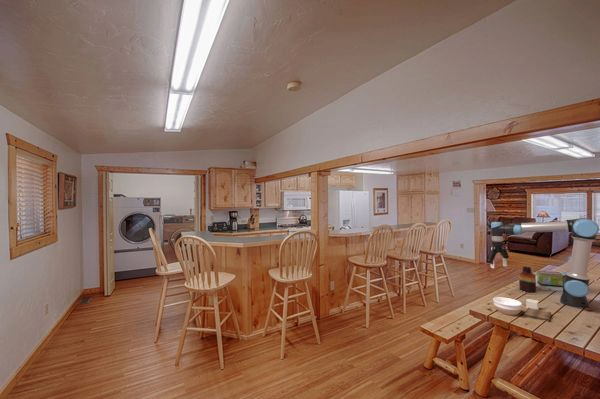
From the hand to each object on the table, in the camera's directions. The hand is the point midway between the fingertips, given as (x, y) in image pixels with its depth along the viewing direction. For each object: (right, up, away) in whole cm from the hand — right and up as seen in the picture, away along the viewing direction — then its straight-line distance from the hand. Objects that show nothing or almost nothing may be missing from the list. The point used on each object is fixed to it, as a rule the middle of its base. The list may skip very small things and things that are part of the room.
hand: (498, 267), depth 213 cm
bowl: (-16, -25, -29) cm, 41 cm away
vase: (+33, -24, +11) cm, 42 cm away
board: (-1, -24, -36) cm, 43 cm away
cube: (+5, -24, -25) cm, 35 cm away
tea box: (+55, -23, +14) cm, 62 cm away
